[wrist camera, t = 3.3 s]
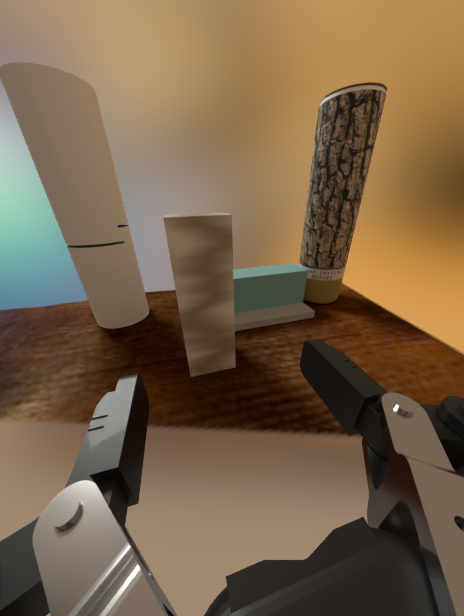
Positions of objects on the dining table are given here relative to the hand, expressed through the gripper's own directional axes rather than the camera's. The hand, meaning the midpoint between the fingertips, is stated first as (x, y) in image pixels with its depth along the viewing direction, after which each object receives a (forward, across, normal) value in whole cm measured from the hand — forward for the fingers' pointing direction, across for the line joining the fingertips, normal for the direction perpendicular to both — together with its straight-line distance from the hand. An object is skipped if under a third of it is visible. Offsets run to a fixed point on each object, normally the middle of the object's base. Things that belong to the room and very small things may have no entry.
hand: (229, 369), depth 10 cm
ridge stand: (+19, -8, +8) cm, 22 cm away
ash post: (+10, 0, +8) cm, 12 cm away
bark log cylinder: (+20, -20, +8) cm, 29 cm away
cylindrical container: (+23, +11, +8) cm, 26 cm away
